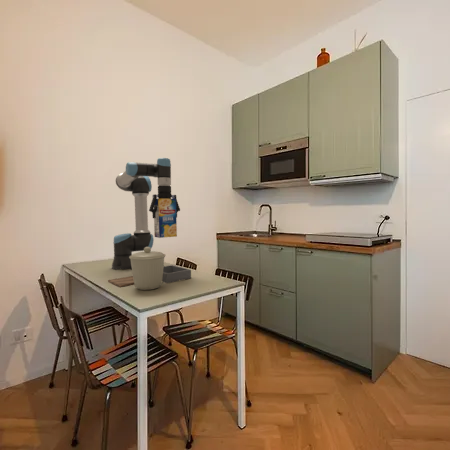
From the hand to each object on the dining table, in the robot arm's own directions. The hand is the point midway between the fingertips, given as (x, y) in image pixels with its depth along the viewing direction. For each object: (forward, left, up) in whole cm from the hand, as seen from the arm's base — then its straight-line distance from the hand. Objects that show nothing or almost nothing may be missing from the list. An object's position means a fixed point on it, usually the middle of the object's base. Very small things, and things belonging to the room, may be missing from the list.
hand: (165, 223), depth 169 cm
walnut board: (-7, -21, -32) cm, 39 cm away
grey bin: (+1, +2, -32) cm, 32 cm away
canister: (+12, -18, -32) cm, 38 cm away
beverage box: (0, 0, -8) cm, 8 cm away
